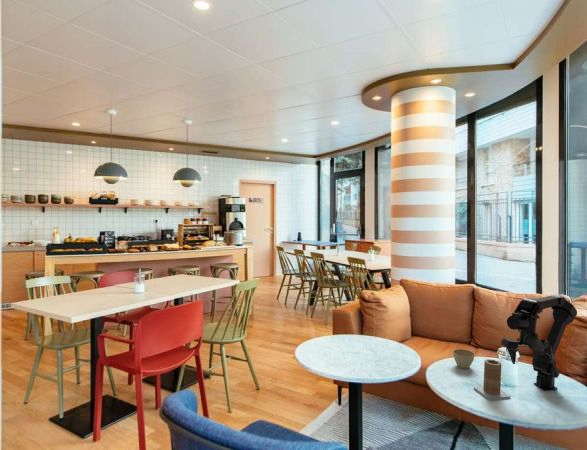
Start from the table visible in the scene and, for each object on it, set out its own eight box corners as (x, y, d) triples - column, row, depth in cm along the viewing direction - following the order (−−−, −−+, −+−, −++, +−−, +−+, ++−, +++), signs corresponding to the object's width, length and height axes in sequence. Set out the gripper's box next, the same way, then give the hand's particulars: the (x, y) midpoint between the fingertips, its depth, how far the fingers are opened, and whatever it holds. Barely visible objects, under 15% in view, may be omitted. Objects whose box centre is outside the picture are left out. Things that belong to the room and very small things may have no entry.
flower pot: (448, 363, 199) (448, 350, 198) (464, 361, 202) (464, 347, 201) (462, 372, 189) (462, 357, 189) (478, 369, 192) (479, 355, 192)
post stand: (493, 387, 174) (494, 375, 174) (510, 398, 164) (510, 385, 164) (473, 389, 172) (474, 377, 172) (489, 400, 162) (489, 388, 162)
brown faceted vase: (488, 387, 172) (489, 358, 171) (502, 392, 167) (503, 362, 166) (481, 390, 169) (482, 361, 168) (495, 396, 164) (496, 366, 163)
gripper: (518, 332, 158) (514, 370, 159) (562, 336, 159) (558, 374, 159) (502, 324, 169) (498, 360, 170) (544, 328, 170) (540, 363, 170)
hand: (524, 364), depth 167 cm, fingers open, 9 cm apart
